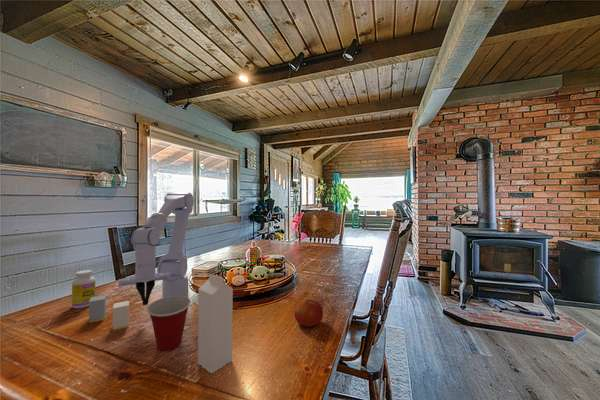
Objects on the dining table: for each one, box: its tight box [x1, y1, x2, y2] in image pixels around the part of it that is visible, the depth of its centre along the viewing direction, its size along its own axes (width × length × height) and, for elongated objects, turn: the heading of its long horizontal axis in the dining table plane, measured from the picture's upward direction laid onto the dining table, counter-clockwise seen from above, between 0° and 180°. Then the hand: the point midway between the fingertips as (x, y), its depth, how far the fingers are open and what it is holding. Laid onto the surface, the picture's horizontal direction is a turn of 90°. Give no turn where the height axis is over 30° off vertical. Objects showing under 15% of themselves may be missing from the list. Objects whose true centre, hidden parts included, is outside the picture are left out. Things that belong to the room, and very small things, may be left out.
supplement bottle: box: [71, 269, 96, 309], centre depth 92 cm, size 7×7×13 cm
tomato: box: [294, 298, 324, 327], centre depth 80 cm, size 9×9×8 cm
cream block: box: [112, 300, 130, 331], centre depth 78 cm, size 4×4×7 cm
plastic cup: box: [146, 295, 192, 352], centre depth 68 cm, size 11×11×12 cm
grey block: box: [88, 294, 107, 323], centre depth 82 cm, size 4×4×7 cm
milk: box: [197, 273, 234, 375], centre depth 61 cm, size 6×6×22 cm
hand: (145, 303), depth 81 cm, fingers closed
